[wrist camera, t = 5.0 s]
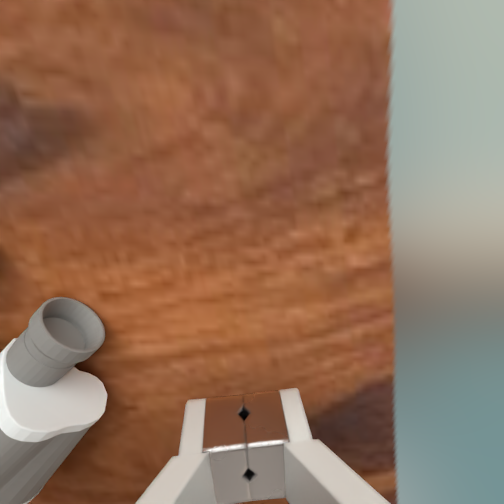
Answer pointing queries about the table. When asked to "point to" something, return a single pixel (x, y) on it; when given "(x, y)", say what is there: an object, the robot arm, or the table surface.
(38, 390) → the binoculars
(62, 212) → the table surface
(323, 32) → the table surface
